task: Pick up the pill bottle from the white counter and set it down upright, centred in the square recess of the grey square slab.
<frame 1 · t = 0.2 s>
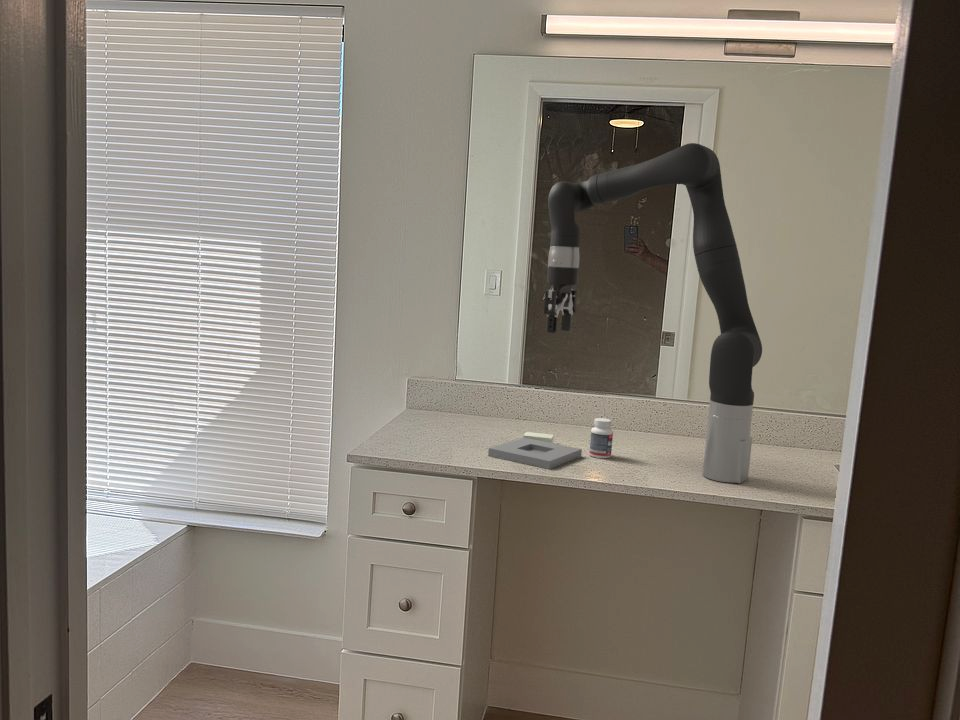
hand: (558, 331, 211), 28 cm above the worktop, fingers open, 8 cm apart
grey square slab: (535, 456, 201), on the worktop
pill bottle: (599, 456, 205), on the worktop
soap bar: (537, 444, 214), on the worktop
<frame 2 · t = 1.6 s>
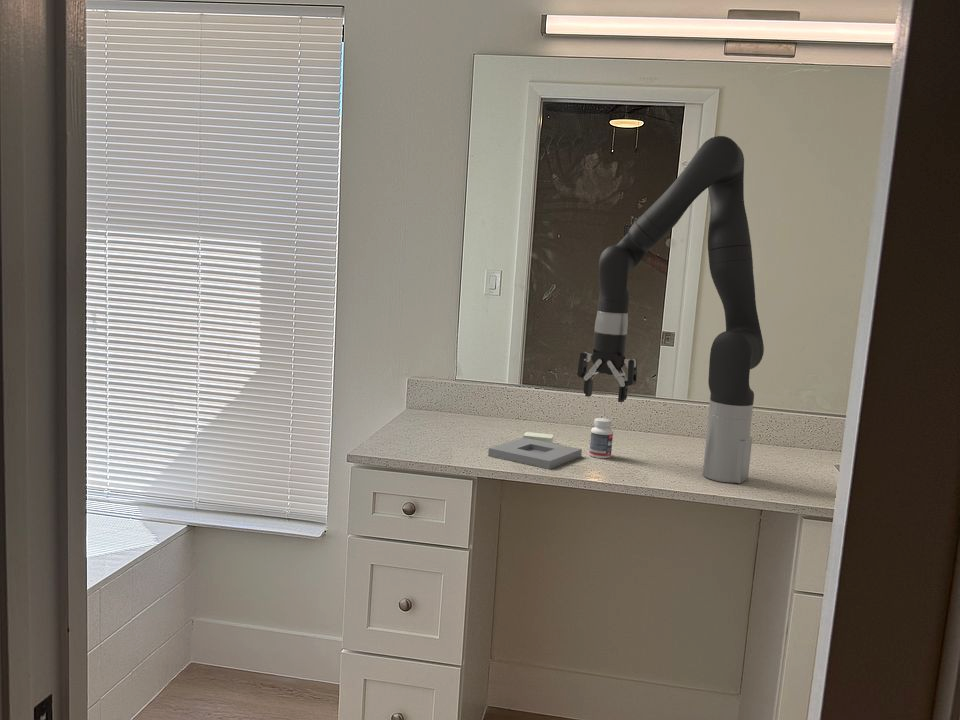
hand: (604, 399, 203), 14 cm above the worktop, fingers open, 8 cm apart
nothing on the worktop moved.
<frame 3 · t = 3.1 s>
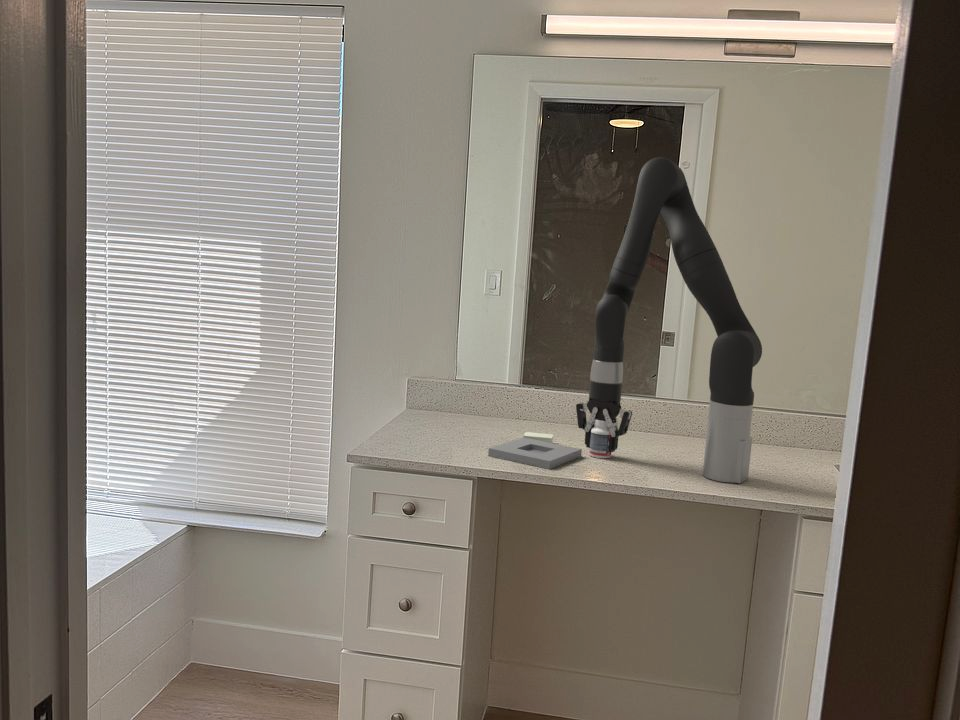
hand: (600, 449, 205), 2 cm above the worktop, fingers closed on pill bottle, 5 cm apart
pill bottle: (599, 456, 205), on the worktop, touching gripper
everything else where it was.
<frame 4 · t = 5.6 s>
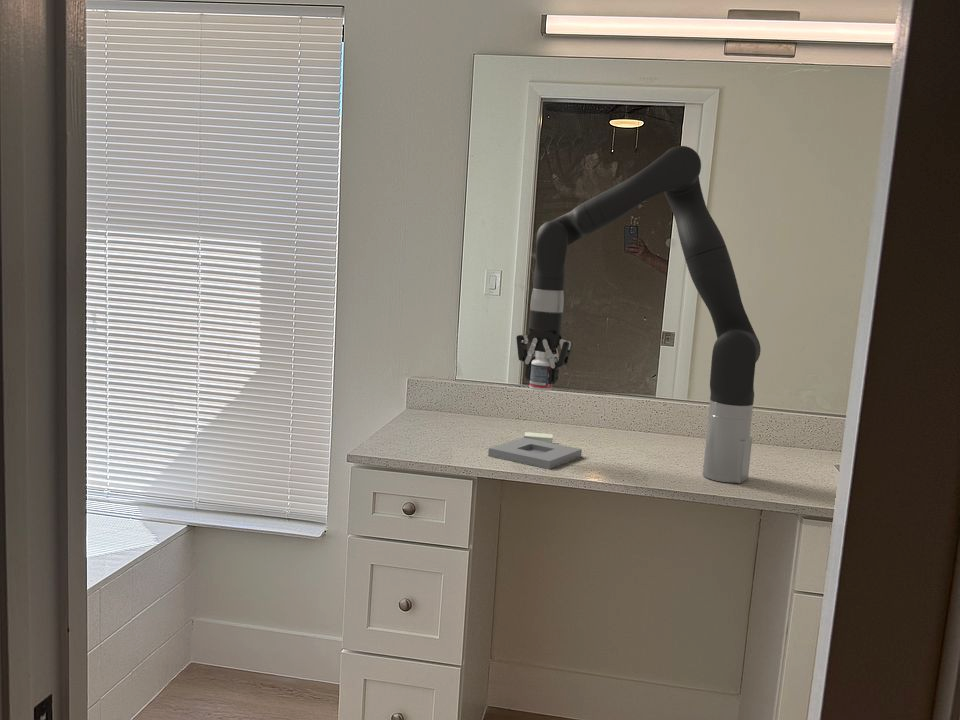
hand: (540, 381, 199), 18 cm above the worktop, fingers closed on pill bottle, 5 cm apart
pill bottle: (540, 389, 199), point 16 cm above the worktop, touching gripper
everything else where it was.
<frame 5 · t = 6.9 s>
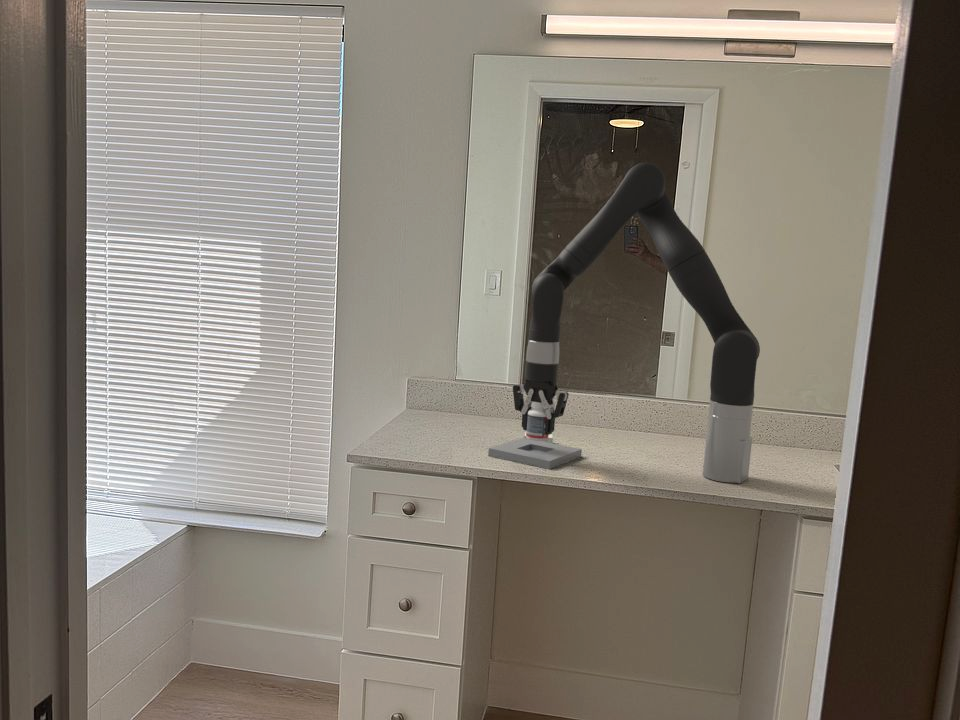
hand: (537, 431, 200), 6 cm above the worktop, fingers closed on pill bottle, 5 cm apart
pill bottle: (536, 439, 200), point 4 cm above the worktop, touching gripper
everything else where it was.
when the fingers open (3 cm above the worktop, at t = 7.9 s): pill bottle stays where it is, resting on grey square slab.
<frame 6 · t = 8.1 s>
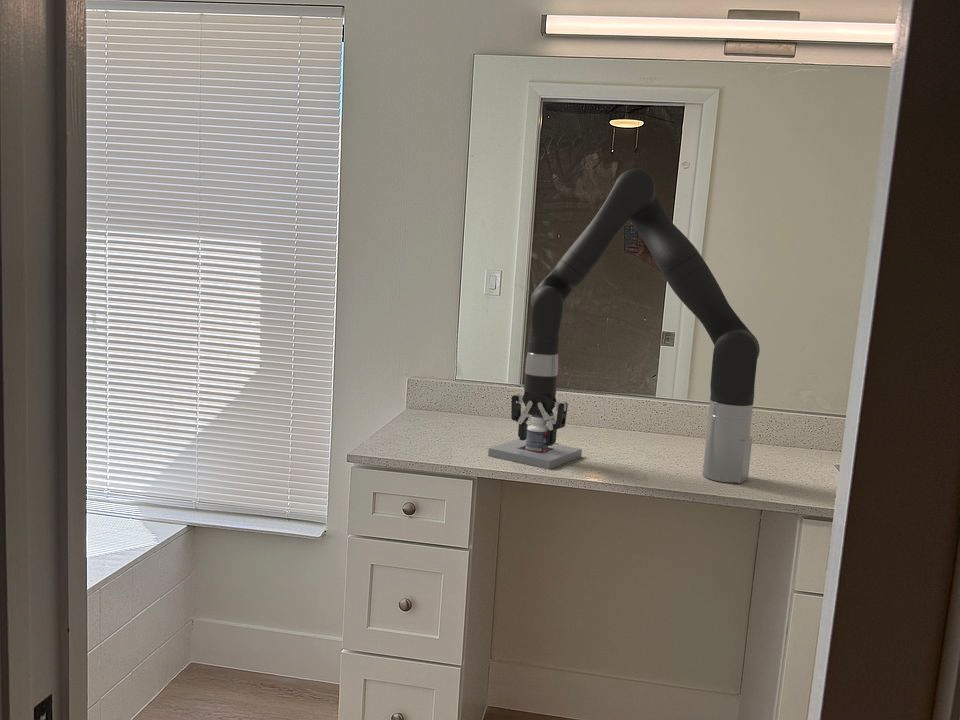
hand: (536, 442, 200), 3 cm above the worktop, fingers open, 6 cm apart
pill bottle: (536, 454, 201), resting on grey square slab
everything else where it was.
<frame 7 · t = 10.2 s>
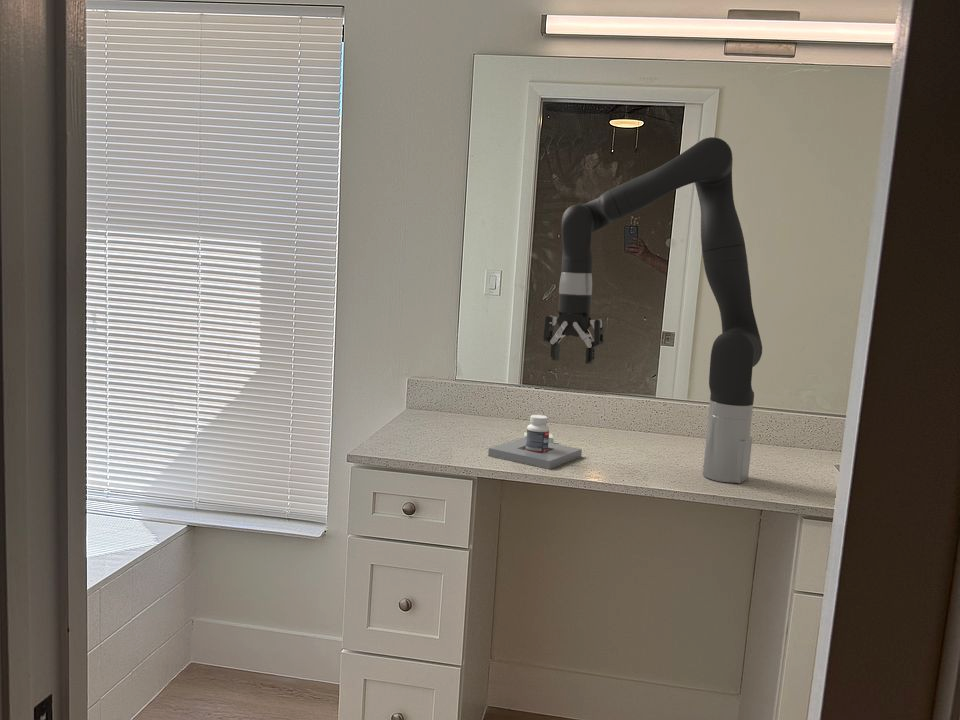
hand: (571, 361, 200), 22 cm above the worktop, fingers open, 8 cm apart
nothing on the worktop moved.
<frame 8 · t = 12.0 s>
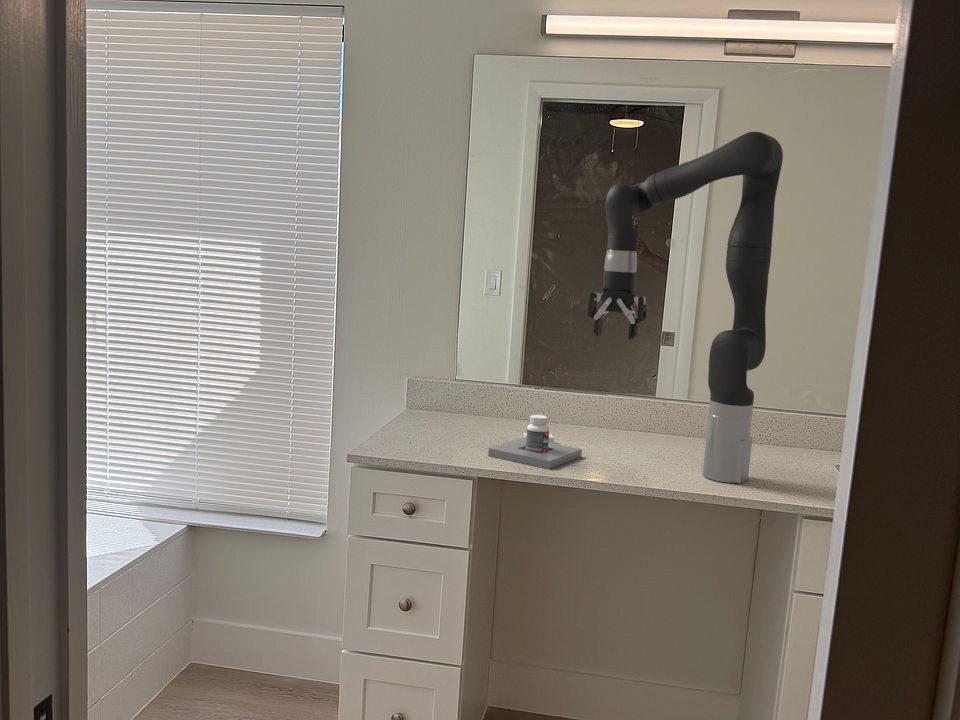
hand: (614, 337, 206), 28 cm above the worktop, fingers open, 8 cm apart
nothing on the worktop moved.
at the end: pill bottle 0.2 cm from the grey square slab (horizontally); pill bottle tilted 0°; pill bottle touching grey square slab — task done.
